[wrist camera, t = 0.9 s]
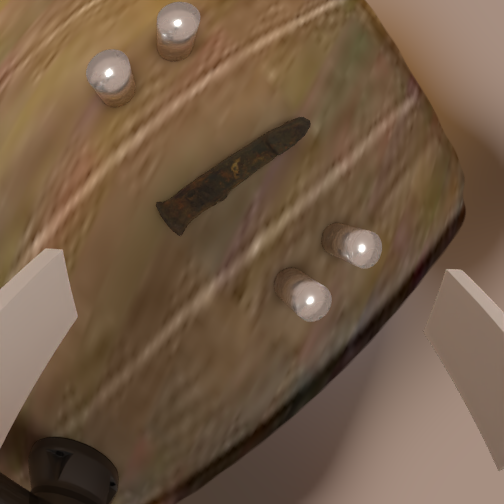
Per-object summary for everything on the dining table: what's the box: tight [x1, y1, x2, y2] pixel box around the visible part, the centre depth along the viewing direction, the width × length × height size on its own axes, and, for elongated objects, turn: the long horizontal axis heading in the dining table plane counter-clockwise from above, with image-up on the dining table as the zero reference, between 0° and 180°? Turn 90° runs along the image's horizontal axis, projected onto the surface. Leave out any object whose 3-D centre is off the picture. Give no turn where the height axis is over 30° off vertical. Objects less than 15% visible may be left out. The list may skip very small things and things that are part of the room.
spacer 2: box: [157, 2, 200, 61], centre depth 26 cm, size 4×4×7 cm
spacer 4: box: [321, 223, 382, 268], centre depth 36 cm, size 4×4×7 cm
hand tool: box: [156, 117, 310, 236], centre depth 33 cm, size 19×4×5 cm, turn 123°
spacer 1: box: [86, 49, 135, 107], centre depth 26 cm, size 4×4×7 cm
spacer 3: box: [274, 268, 332, 321], centre depth 36 cm, size 4×4×7 cm
